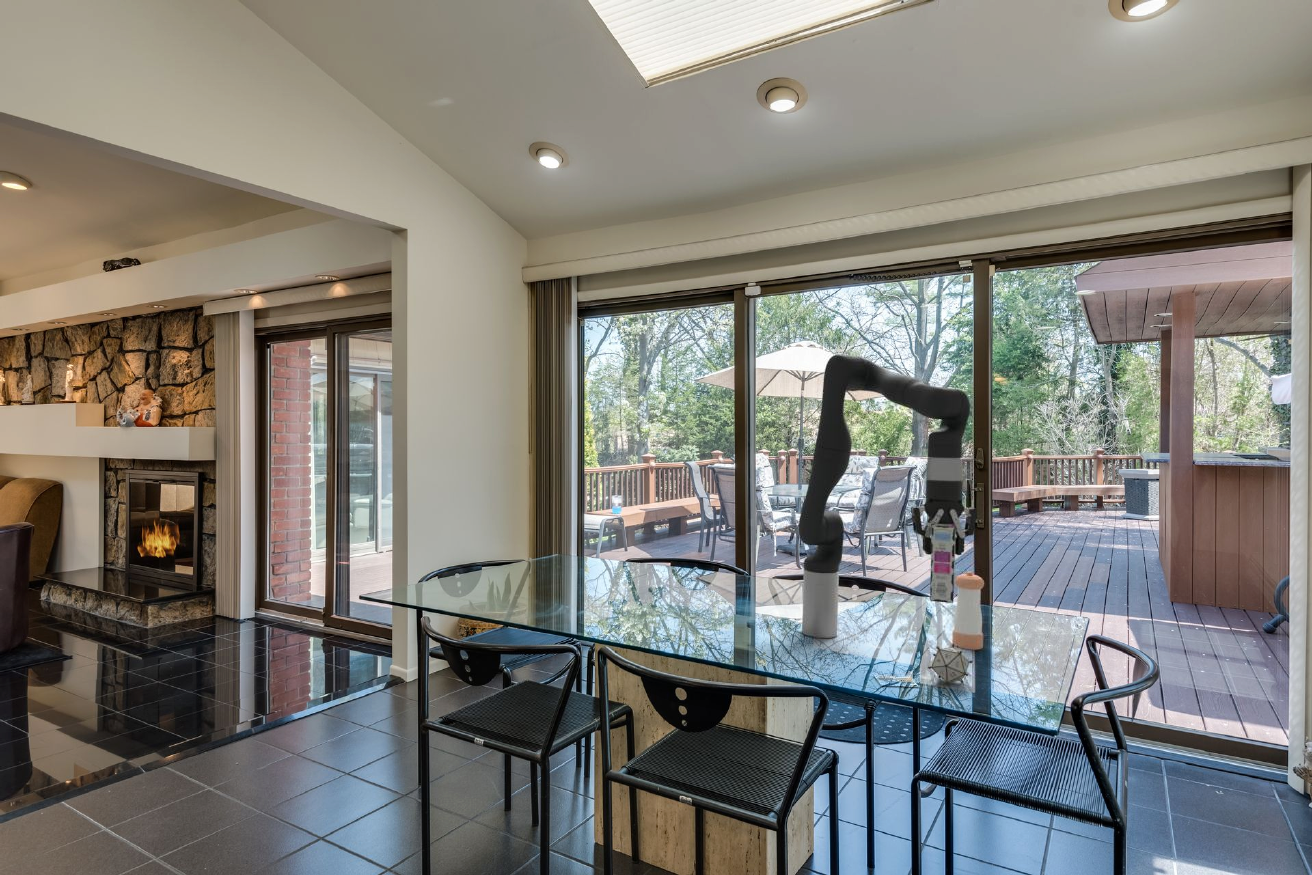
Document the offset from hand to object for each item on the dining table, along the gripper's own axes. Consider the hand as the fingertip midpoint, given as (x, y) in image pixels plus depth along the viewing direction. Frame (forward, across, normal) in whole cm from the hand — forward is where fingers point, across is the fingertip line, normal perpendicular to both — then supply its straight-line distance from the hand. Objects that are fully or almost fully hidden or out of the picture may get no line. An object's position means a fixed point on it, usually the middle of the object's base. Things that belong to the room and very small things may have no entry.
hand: (943, 554), depth 159 cm
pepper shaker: (+28, -16, -29) cm, 44 cm away
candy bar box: (+10, 0, 0) cm, 10 cm away
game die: (+28, -2, 0) cm, 29 cm away
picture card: (+28, +10, +1) cm, 30 cm away
